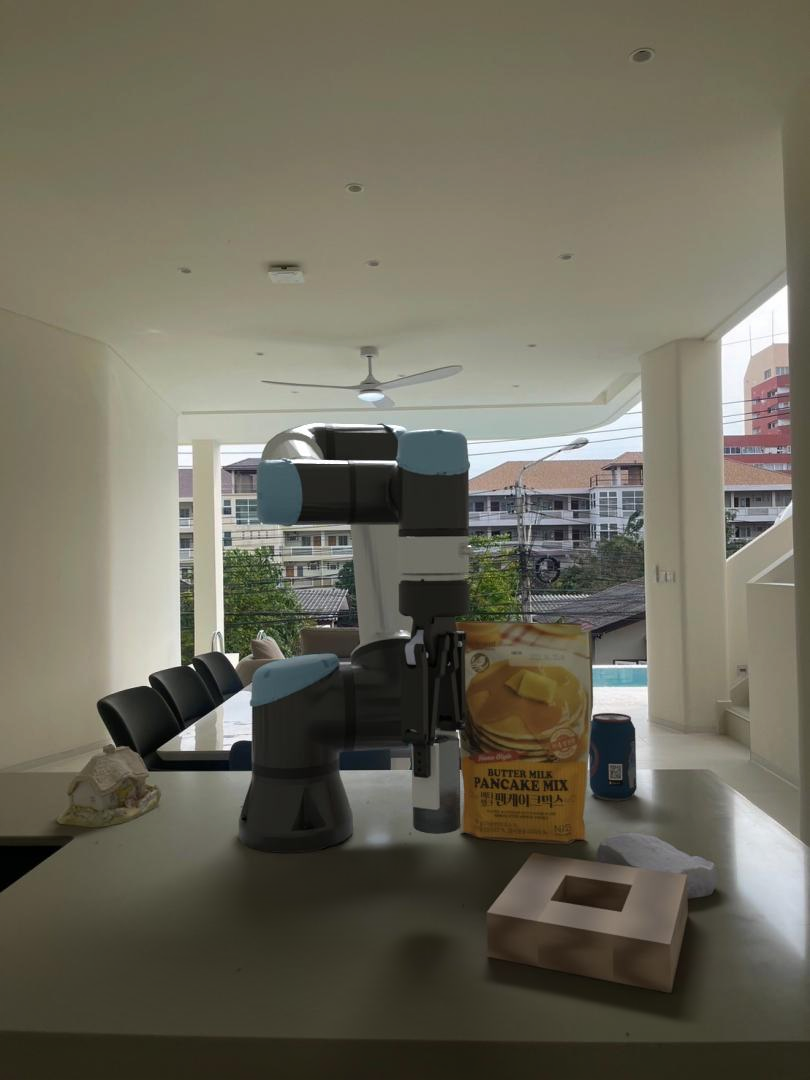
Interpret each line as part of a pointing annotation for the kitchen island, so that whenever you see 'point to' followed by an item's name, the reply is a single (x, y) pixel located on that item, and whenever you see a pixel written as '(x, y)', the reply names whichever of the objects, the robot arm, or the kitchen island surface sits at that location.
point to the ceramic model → (110, 790)
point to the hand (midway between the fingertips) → (436, 798)
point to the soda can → (612, 757)
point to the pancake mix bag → (526, 730)
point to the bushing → (443, 791)
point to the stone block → (659, 860)
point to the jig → (592, 920)
